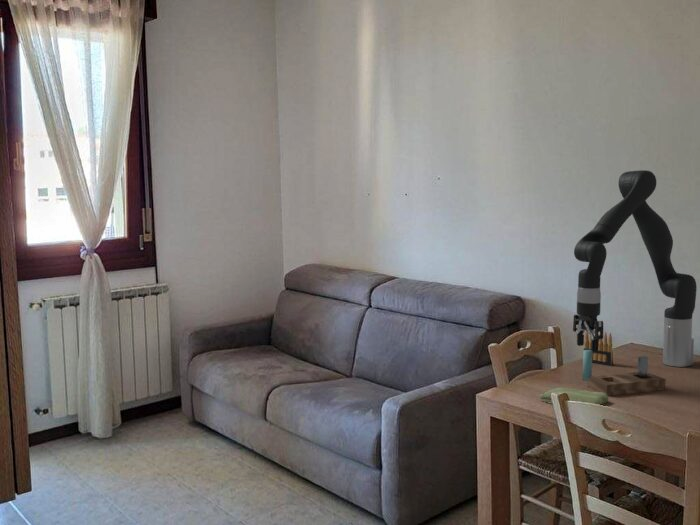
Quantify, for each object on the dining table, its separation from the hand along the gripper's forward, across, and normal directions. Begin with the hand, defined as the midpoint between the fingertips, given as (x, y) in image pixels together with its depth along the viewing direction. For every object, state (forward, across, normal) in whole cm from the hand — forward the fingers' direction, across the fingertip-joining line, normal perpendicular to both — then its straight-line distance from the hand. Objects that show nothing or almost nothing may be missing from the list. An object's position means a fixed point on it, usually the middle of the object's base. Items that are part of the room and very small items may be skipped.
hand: (587, 348), depth 244 cm
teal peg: (+11, 0, 0) cm, 11 cm away
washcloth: (+12, -20, +17) cm, 29 cm away
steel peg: (+11, -13, -12) cm, 21 cm away
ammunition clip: (+11, +18, -16) cm, 27 cm away
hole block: (+11, -13, -6) cm, 18 cm away
